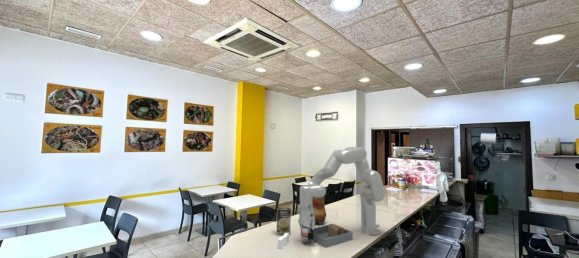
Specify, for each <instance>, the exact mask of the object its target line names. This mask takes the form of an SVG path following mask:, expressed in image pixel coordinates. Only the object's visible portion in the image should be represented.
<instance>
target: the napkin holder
mask: <svg viewBox="0 0 579 258" xmlns="http://www.w3.org/2000/svg"><path fill="white" fill-rule="evenodd" d="M289 242H290V235H289V233H285V234H284V235H281V236H279V237H278V239H277V249H279V250H282V249H283V248H284V247H286V246H288V243H289Z"/></svg>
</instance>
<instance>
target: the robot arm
mask: <svg viewBox="0 0 579 258" xmlns="http://www.w3.org/2000/svg"><path fill="white" fill-rule="evenodd" d="M367 154H368V153H367V150H366V149H365V148H364V147H361V146H348V147H346V148H344V149H336V150H334V151H333V152H332V154H331V155H330V157H329V158H328V160H327V161H326V162H325V164H324V165H323V167H322V168H321V169H320V170H318V171H317V172H316V173H315V174H314V175H312V178H310V180H309V182H308V183H307V184H303V185H301V186H300V187H299V212H298V214H299V215H298V216H299V217H298V220H297V222H298V224H299V228H300V230H301V227H302V226H305V227H307V228H308V231H309V233H308V239H309V240H311V239H313V232H314V230H315V229H316V227H317V226H316V224H315V217H314V211H313V204H312V198H321V197H323V196H325V195H326V194H327V191H326V188H325V186H323V185H321V184H322V183H323V182H324V181H325V180H327V179H330V178H333V177H334V176H336V174H337V173H338V171H339V170H340V168H341V166H342V165H349V164H354V166H355V170H356V174H357V177H358V180H359V182H360V183H361V184H362V185H360V187H359V190H358V192H359V198H360V227H359V228H358V232H360V233H361V234H364V235H368V236H377V235H378V234H379V230H378V228H380V227H381V225H380V224H377V216H376V215H377V211H376V210H377V205H376V203H377V202H378V203H379V202H382V201H383V200H384V199H385V195H386V193H385V187H384V184H383V179H382V177H381V174H380V173H379V172H378V171H376V170H373V169H370V166H369V161H368V159H367ZM310 226H311V227H310ZM310 228H311V230H310Z"/></svg>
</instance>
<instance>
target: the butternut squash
mask: <svg viewBox="0 0 579 258" xmlns="http://www.w3.org/2000/svg"><path fill="white" fill-rule="evenodd" d="M325 197H326V196H325V195H324V196H323V197H321V198H312V204H313V211H314V217H315V225H316V224H317V225H319V224H320V223H321V224H322V223H324V222H325V220H326V218H327V212H326V211H327V210H326V208H325V207H326V206H325Z"/></svg>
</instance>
